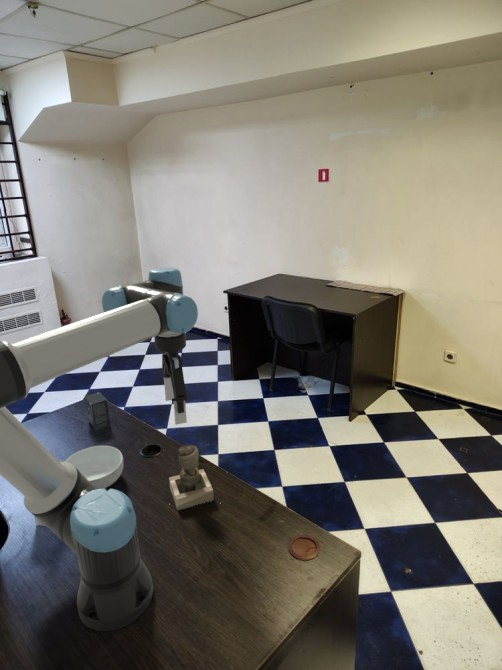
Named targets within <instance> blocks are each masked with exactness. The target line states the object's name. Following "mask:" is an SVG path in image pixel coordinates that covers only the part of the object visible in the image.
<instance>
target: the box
mask: <svg viewBox="0 0 502 670" xmlns="http://www.w3.org/2000/svg"><path fill="white" fill-rule="evenodd" d="M84 399H85V400H84V401H85V407H86V411H87V412H86V413H87V418H88V419H87V420H88V422H89V423H90V425H91V426H92V427H93V429H94V430H96V431H97V430H100V429H104V428H106V427H109V426H111V419H110V413H109V406H108V400H107V398H106V397H105V396H104V395H103V394H102V393H101V392H100V391H97V392H95V393H90V394H87V395H85V396H84Z"/></svg>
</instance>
